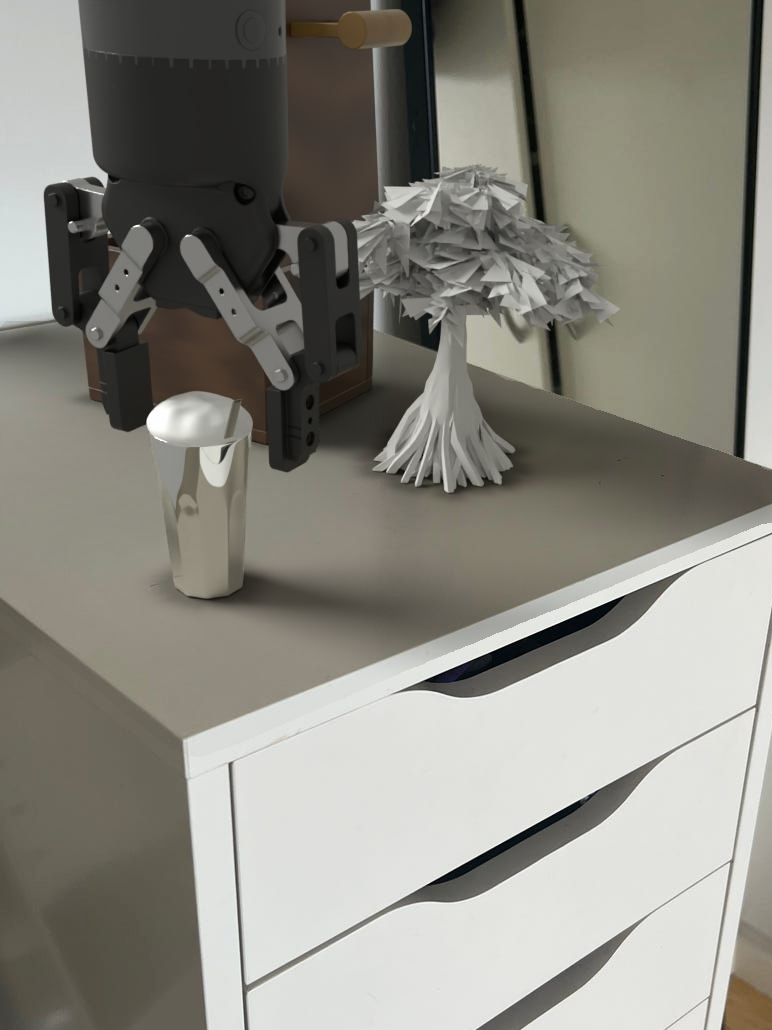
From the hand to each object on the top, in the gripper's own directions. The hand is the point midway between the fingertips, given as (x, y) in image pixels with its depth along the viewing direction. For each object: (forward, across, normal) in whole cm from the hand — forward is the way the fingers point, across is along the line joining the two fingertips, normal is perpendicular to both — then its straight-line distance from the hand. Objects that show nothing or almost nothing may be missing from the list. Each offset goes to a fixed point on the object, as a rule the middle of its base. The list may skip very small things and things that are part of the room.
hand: (209, 445), depth 54 cm
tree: (+7, -2, -20) cm, 21 cm away
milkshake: (+7, 0, 0) cm, 7 cm away
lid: (-10, +9, -22) cm, 26 cm away
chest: (+7, +15, -22) cm, 28 cm away
